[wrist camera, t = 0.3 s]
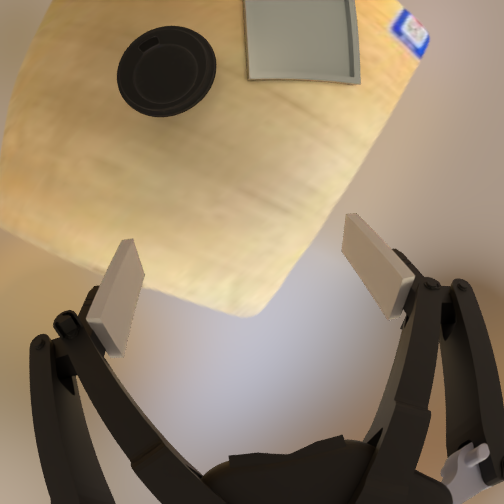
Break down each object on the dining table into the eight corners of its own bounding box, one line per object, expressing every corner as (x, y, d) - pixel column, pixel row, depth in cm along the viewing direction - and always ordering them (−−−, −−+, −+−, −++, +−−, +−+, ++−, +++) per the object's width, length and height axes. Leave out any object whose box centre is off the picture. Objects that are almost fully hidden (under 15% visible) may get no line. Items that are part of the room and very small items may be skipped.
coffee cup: (176, 38, 27) (154, 6, 15) (230, 71, 31) (239, 54, 18) (136, 91, 30) (92, 90, 18) (188, 123, 34) (173, 137, 22)
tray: (241, -14, 24) (243, -20, 21) (346, -3, 25) (353, -7, 23) (247, 80, 32) (249, 79, 30) (352, 84, 33) (360, 84, 31)
